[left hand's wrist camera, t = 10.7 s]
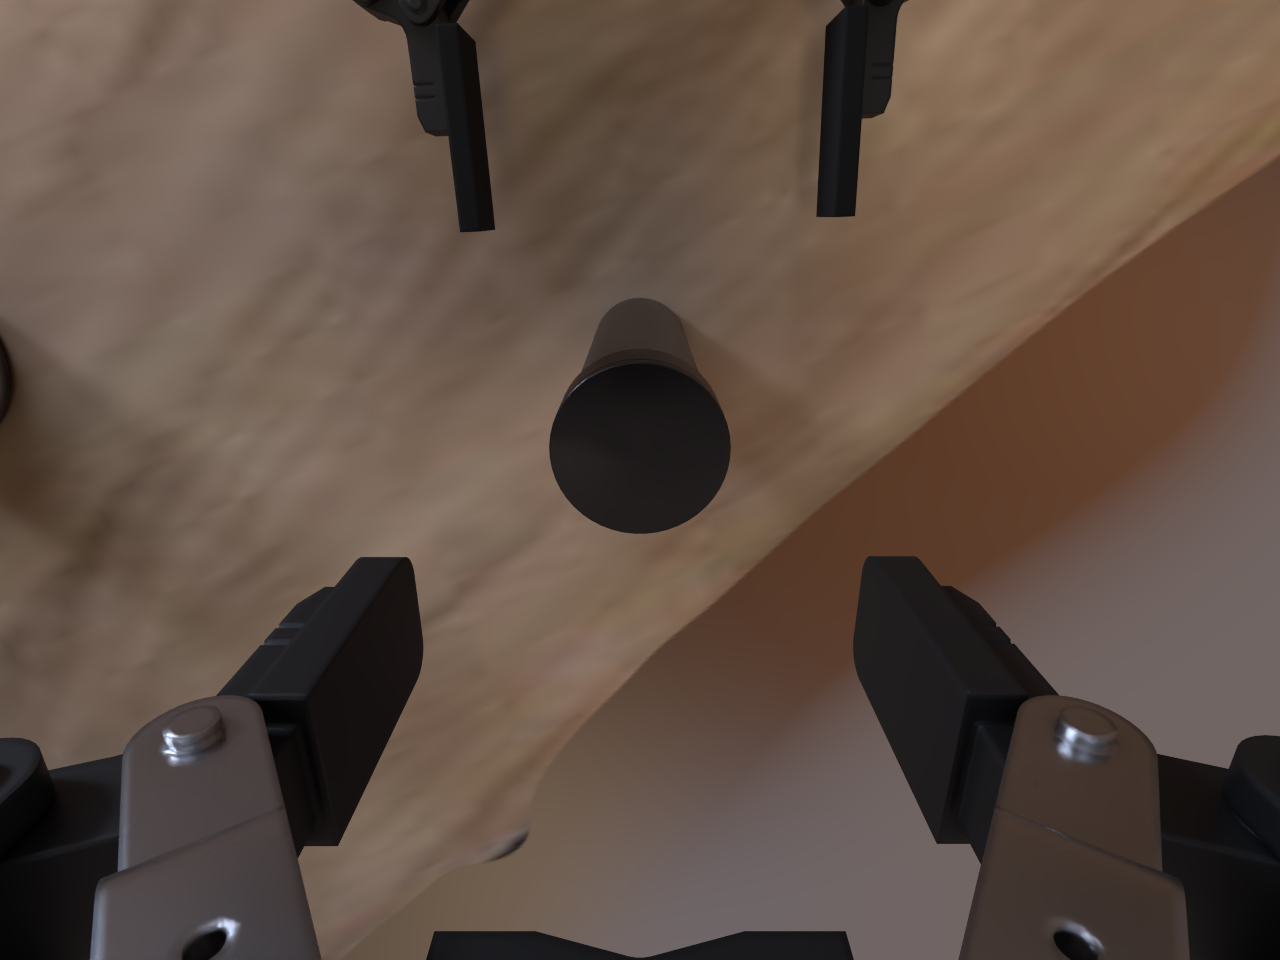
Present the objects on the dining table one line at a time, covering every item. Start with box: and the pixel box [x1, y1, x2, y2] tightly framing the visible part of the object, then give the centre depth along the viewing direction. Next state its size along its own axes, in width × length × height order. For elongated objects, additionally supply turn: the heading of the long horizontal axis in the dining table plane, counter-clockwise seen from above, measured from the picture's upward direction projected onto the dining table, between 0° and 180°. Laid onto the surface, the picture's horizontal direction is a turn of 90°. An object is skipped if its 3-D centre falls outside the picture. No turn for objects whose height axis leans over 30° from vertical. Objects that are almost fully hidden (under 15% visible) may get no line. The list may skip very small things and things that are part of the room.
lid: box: [549, 349, 731, 534], centre depth 20 cm, size 5×5×2 cm
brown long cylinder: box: [581, 298, 698, 372], centre depth 27 cm, size 4×4×16 cm
